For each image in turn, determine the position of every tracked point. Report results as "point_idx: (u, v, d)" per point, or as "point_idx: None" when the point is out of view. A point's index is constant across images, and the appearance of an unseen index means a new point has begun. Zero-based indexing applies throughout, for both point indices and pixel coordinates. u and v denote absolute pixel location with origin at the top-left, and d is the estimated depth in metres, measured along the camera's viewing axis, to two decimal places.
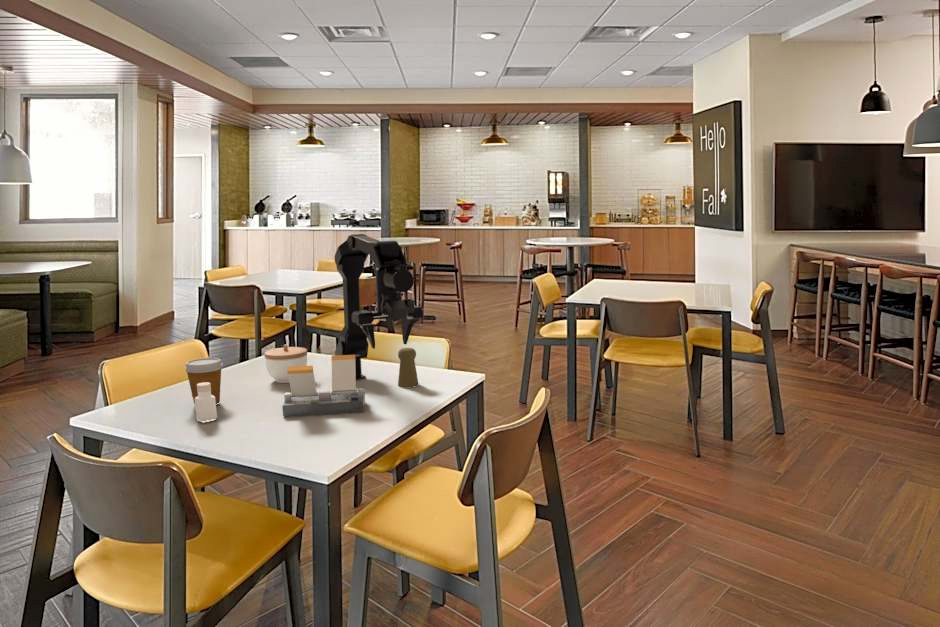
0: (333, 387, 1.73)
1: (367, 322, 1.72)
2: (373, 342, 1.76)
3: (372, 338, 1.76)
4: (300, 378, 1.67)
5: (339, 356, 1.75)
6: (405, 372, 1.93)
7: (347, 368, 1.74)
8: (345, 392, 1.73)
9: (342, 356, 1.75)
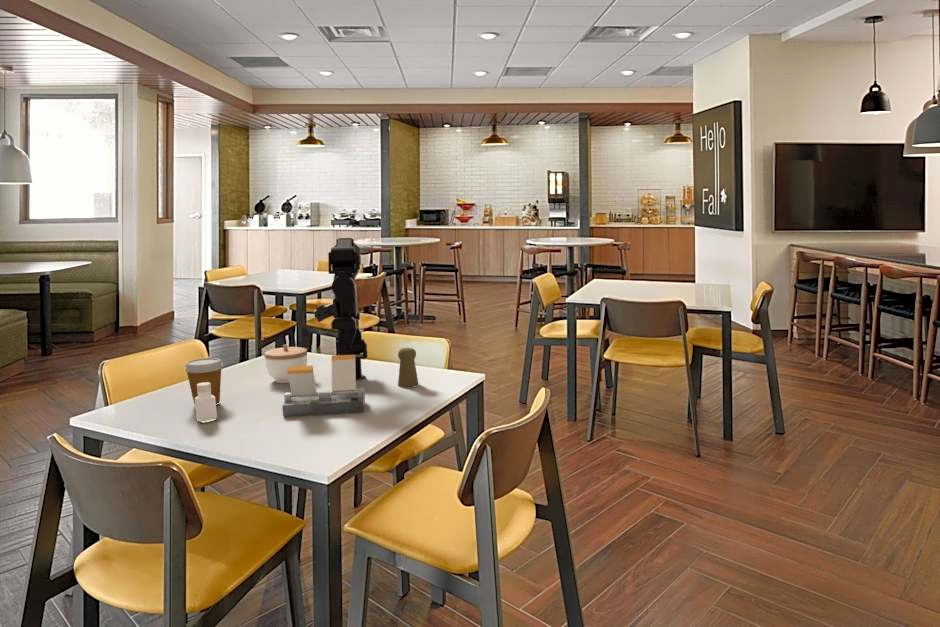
0: (333, 387, 1.73)
1: None
2: None
3: None
4: (300, 378, 1.67)
5: (339, 356, 1.75)
6: (405, 372, 1.93)
7: (347, 368, 1.74)
8: (345, 392, 1.73)
9: (342, 356, 1.75)
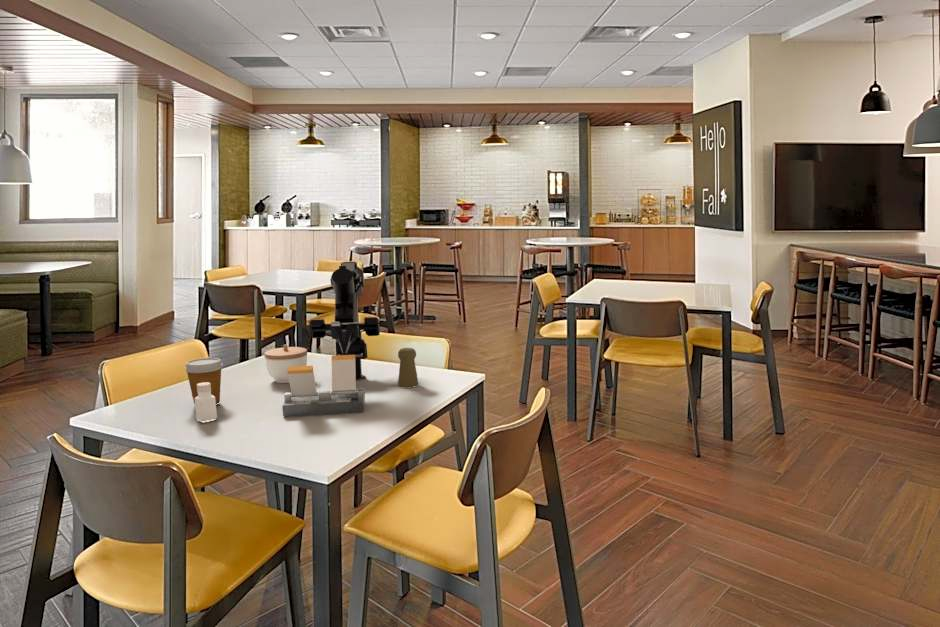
0: (333, 387, 1.73)
1: None
2: None
3: None
4: (300, 378, 1.67)
5: (339, 356, 1.75)
6: (405, 372, 1.93)
7: (347, 368, 1.74)
8: (345, 392, 1.73)
9: (342, 356, 1.75)
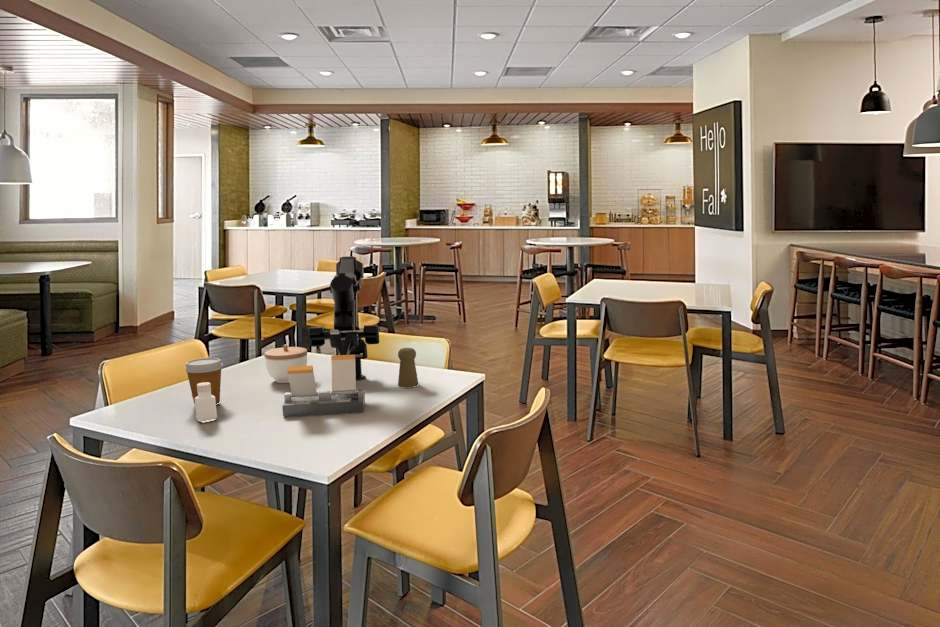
0: (333, 387, 1.73)
1: None
2: None
3: None
4: (300, 378, 1.67)
5: (339, 356, 1.74)
6: (405, 372, 1.93)
7: (347, 368, 1.74)
8: (345, 392, 1.73)
9: (342, 356, 1.74)
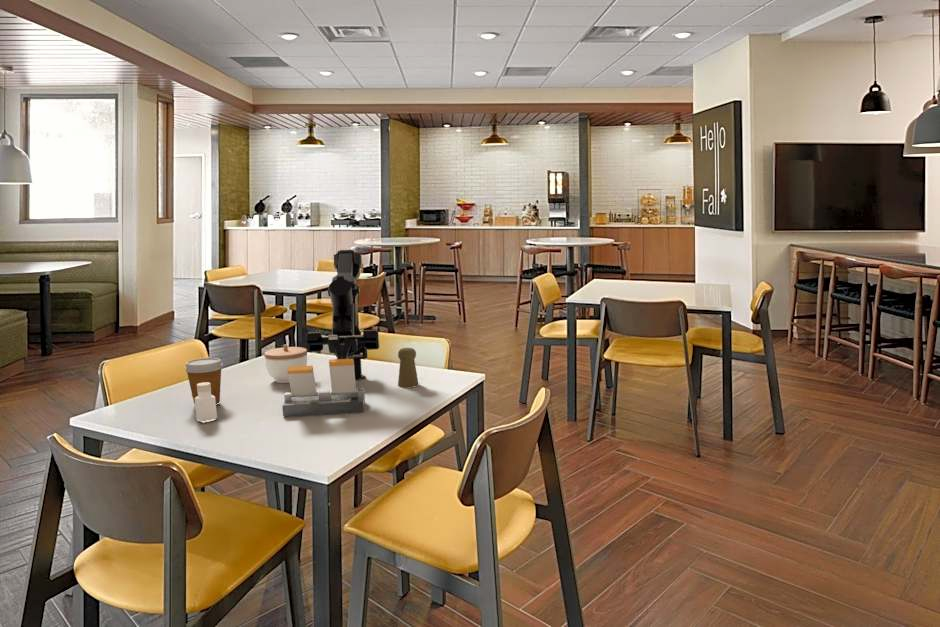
0: (333, 390, 1.72)
1: None
2: None
3: None
4: (300, 378, 1.67)
5: (337, 363, 1.68)
6: (405, 372, 1.93)
7: (346, 373, 1.70)
8: (345, 393, 1.73)
9: (340, 363, 1.68)
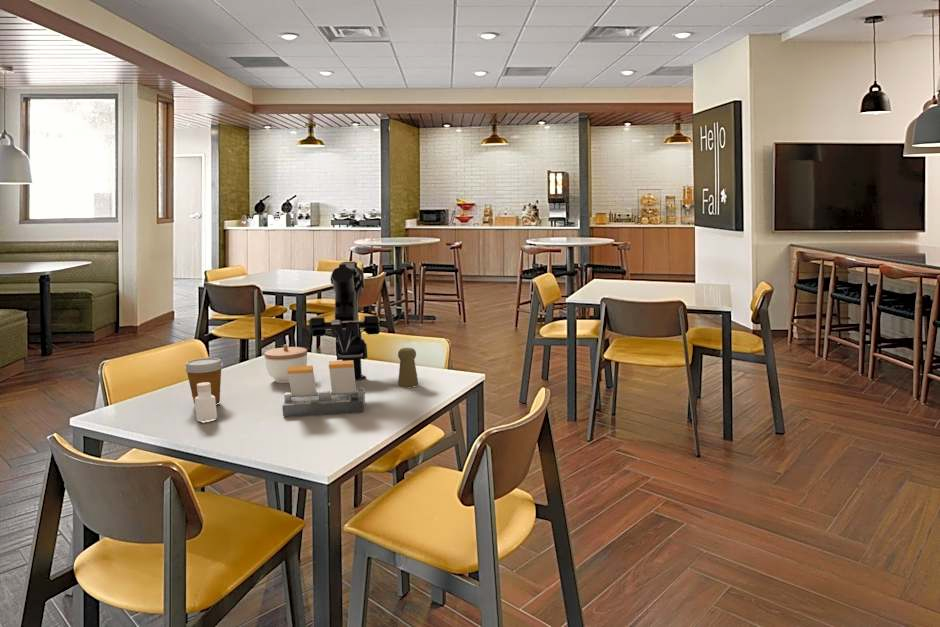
0: (333, 390, 1.72)
1: None
2: None
3: None
4: (300, 378, 1.67)
5: (337, 365, 1.67)
6: (405, 372, 1.93)
7: (346, 375, 1.69)
8: (345, 393, 1.73)
9: (340, 365, 1.68)
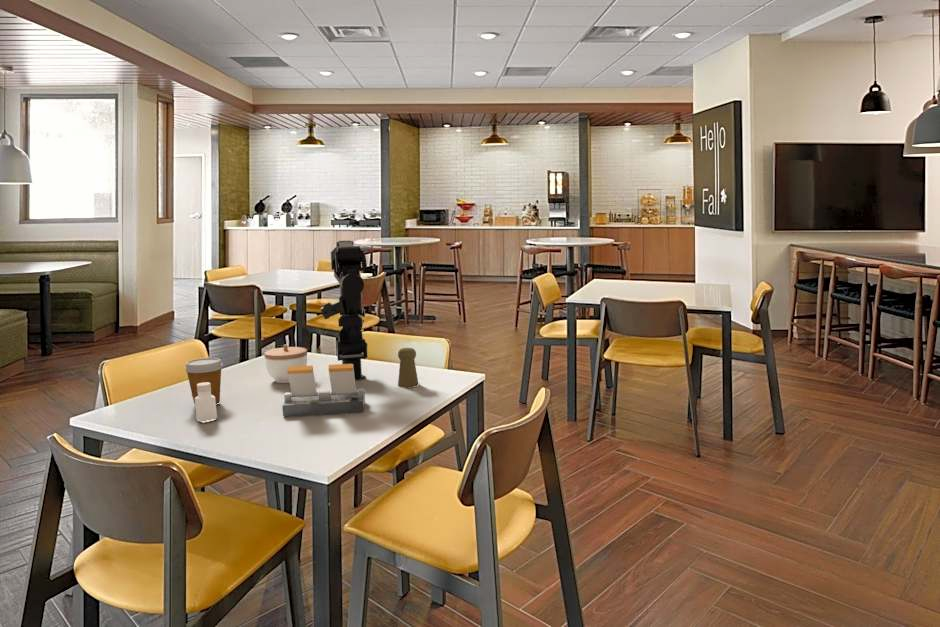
0: (333, 391, 1.72)
1: None
2: None
3: None
4: (300, 378, 1.67)
5: (336, 369, 1.66)
6: (405, 372, 1.93)
7: (346, 377, 1.69)
8: (345, 393, 1.73)
9: (340, 369, 1.67)
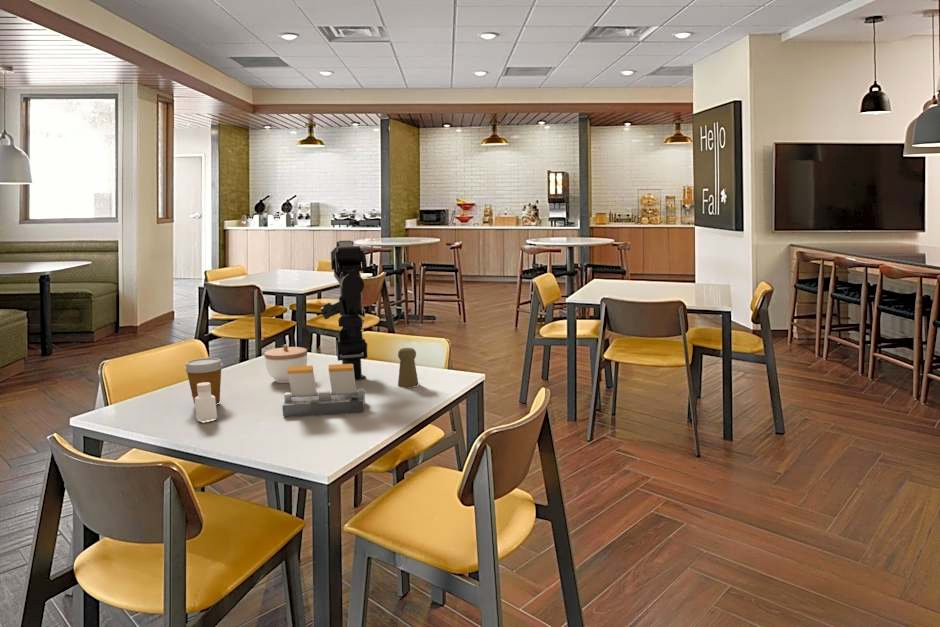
0: (333, 391, 1.72)
1: None
2: None
3: None
4: (300, 378, 1.67)
5: (336, 369, 1.66)
6: (405, 372, 1.93)
7: (346, 377, 1.69)
8: (345, 393, 1.73)
9: (340, 369, 1.67)
